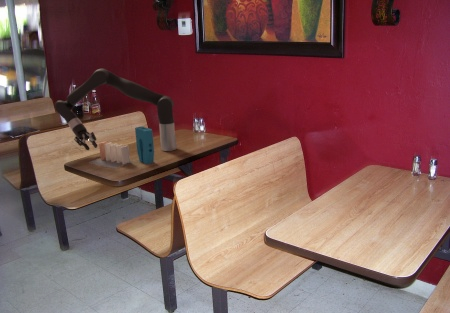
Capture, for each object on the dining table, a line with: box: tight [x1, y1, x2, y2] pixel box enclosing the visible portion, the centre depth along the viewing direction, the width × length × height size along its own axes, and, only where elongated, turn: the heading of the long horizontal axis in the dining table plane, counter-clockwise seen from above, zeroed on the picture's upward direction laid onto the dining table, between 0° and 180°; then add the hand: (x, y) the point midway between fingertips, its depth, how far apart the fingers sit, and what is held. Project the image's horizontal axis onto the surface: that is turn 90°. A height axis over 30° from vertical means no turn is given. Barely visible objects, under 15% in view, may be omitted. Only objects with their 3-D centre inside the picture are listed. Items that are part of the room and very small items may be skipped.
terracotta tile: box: [98, 140, 108, 160], centre depth 275 cm, size 1×5×10 cm, turn 145°
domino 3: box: [115, 143, 124, 163], centre depth 267 cm, size 1×5×10 cm, turn 145°
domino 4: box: [121, 144, 131, 165], centre depth 265 cm, size 1×5×10 cm, turn 145°
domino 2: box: [110, 142, 119, 162], centre depth 270 cm, size 1×5×10 cm, turn 146°
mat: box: [87, 157, 134, 170], centre depth 269 cm, size 23×15×1 cm, turn 56°
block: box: [134, 126, 155, 165], centre depth 265 cm, size 12×5×20 cm, turn 40°
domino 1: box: [104, 141, 113, 161], centre depth 272 cm, size 1×5×10 cm, turn 145°
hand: (92, 148), depth 280 cm, fingers open, 5 cm apart
